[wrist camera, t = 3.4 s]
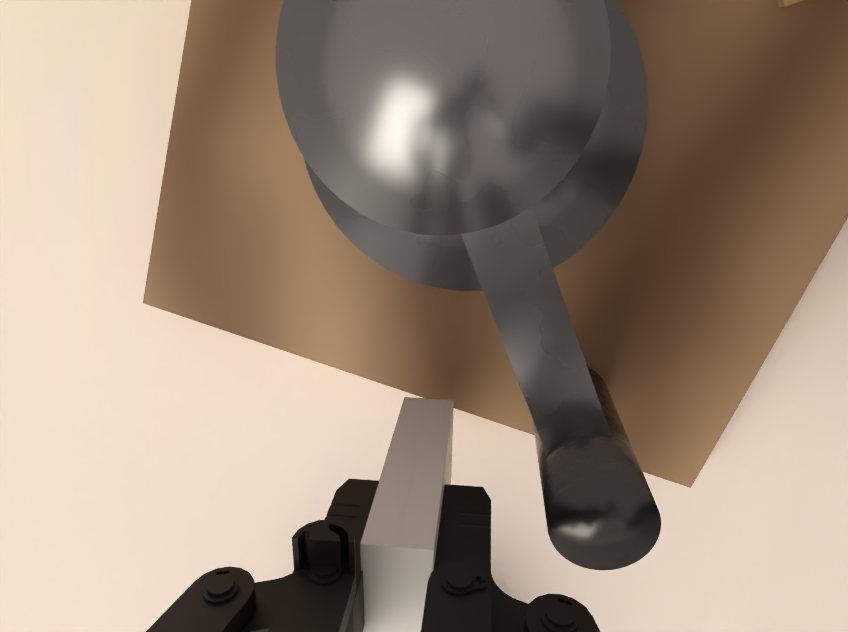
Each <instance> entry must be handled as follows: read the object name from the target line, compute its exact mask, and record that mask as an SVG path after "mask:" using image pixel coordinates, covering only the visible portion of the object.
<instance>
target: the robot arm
mask: <svg viewBox="0 0 848 632" xmlns="http://www.w3.org/2000/svg"><path fill="white" fill-rule="evenodd" d="M452 434H453V400H443V399H426V398H409V397H404V401H403V404H402V407H401V411H400V414H399V417H398V421H397V424H396V427H395V431H394V434H393V437H392V440H391V444H390V447H389V450H388V454H387V457H386V460H385V464H384V467H383V470H382V474H381V477H380V480H379V481H373V480H359V479H348V480H347V481H346V482H345V483H344V484H343V485H342V486H341V487H339V488H338V489H337V491H336V493H335V496H334V498H333V501H332V503H331V506H330V508H329V510H328V513H327V517H326V518H325V520H318V521H315V522H312V523H309V524H306V525H305V526H303V527H302V528H300V529H299V530H297V532H296V533H295V534H294V536H293V537H292V545H293V559H294V572H293V573H292V574H290V575H288V576H285V577H283V578H279V579H275V580H269V581H263V582H257V583H254V579H253V578H252V576H251V574H250V573H249V572H247V571H245V570H243V569H242V568H236V567H224V568H218V569H215V570H212V571H210V572H208V573H205V574H204V575H202V576H201V577H200V578H199V579H197V580H196V581H195V582H194V583H193V584H192V585H191V586H190V587H189V588H188V589H187V590H186V591H185V592H184V593H183V594H182V595H181V596H180V597H179V598H178V599H177V600H176V601H175V602H174V603H173V604H172V605H171V606H170V608H169V609H168V610H167V611H166V612H165V613H164V614H163V615H162V616H161V617H160V618H159V619H158V620H157V621H156V622H155V623H154V624H153V625H152V626H151V627H150V628H149V629H148V630H147V631H146V632H600V631H599V628H598V626H597V624H596V622H595V620H594V618H593V616H592V615H591V614H590V612H589V611H588V610H587V608H586V607H585V606H584V605H582V604H581V603H579V602H578V601H576V600H575V599H573V598H570V597H567V596H564V595H560V594H546V595H543V596H539V597H537V598H535V599H534V600H533V601H532V602H530V603H529V604H527V603H524V602H522V601H519V600H516V599H514V598H512V597H510V596H508V595H507V594H505V593H504V592H503V591H501V590H500V589H499V587H498V586H497V585H496V584H495V582H494V580H493V578H492V575H491V499H490V498H489V496H488V495H487V493H486V491H485V490H484V488H483V487H474V486H460V485H450V483H451V467H452Z"/></svg>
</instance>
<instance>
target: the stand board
mask: <svg viewBox="0 0 848 632" xmlns="http://www.w3.org/2000/svg"><path fill="white" fill-rule="evenodd" d="M618 1H619V3H620V4H621V6H622V8H623V10H624V12H625V13H626V15H627V17H628V19H629V21H630V23H631V25H632V27H633V30H634V32H635V35H636V38H637V41H638V44H639V47H640V49H641V53H642V58H643V62H644V67H645V72H646V78H647V92H648V113H647V127H646V133H645V138H644V143H643V149H642V152H641V156H640V159H639V162H638V165H637V168H636V171H635V174H634V176H633V178H632V180H631V183H630V185H629V187H628V189H627V191H626V193H625V195H624V197H623V199H622V200H621V202H620V203H619V205H618V207H617V208H616V210H615V211H614V213H613V215H612V216H611V217H610V218H609V220H608V221H607V222H606V223H605V225H604V226H603V227H602V228H601V230H600V231H599V232H598V233H597V234H596V235H595V236H594V237H593V238H592V239H591V240H590V241H589V242H588V243H587V244H586V245H585V246H584V247H583V248H582V249H580V250H579V251H578V252H576V253H575V254H574V255H572V256H571V257H570V258H568V259H567V260H566V261H564V262H563V263H561V264H559V265H558V266H556V267H554V268H553V270H554V273H555V276H556V279H557V282H558V285H559V288H560V290H561V293H562V296H563V299H564V302H565V305H566V308H567V310H568V313H569V316H570V319H571V322H572V325H573V328H574V330H575V333H576V336H577V339H578V342H579V345H580V348H581V350H582V353H583V356H584V359H585V362H586V365H587V367H589V368H591V369H593V370H594V371H595V372H597V373H598V374H599V375H600V376H601V377H602V379H603V380H604V382H605V383H606V386H607V388H608V390H609V393H610V395H611V398H612V400H613V402H614V405H615V407H616V410H617V412H618V414H619V417H620V419H621V422H622V424H623V426H624V429H625V431H626V434H627V436H628V438H629V441H630V443H631V446H632V448H633V450H634V453H635V455H636V458H637V460H638V462H639V465H640V467H641V470H642V471H643V472H646V473H649V474H652V475H655V476H657V477H660V478H663V479H666V480H669V481H672V482H675V483H678V484H681V485H684V486H687V487H690V488H691V486H692V484H693V483H694V481H695V479H696V478H697V476H698V474H699V472H700V471H701V469H702V467H703V466H704V464H705V462H706V460H707V459H708V457H709V455H710V453H711V452H712V450H713V448H714V447H715V445H716V443H717V441H718V440H719V438H720V436H721V435H722V433H723V431H724V429H725V428H726V426H727V424H728V422H729V421H730V419H731V417H732V416H733V414H734V412H735V410H736V409H737V407H738V405H739V404H740V402H741V400H742V398H743V397H744V395H745V393H746V391H747V390H748V388H749V386H750V385H751V383H752V381H753V379H754V378H755V376H756V374H757V373H758V371H759V369H760V367H761V366H762V364H763V362H764V360H765V359H766V357H767V355H768V354H769V352H770V350H771V348H772V347H773V345H774V343H775V342H776V340H777V338H778V336H779V335H780V333H781V331H782V329H783V328H784V326H785V324H786V323H787V321H788V319H789V317H790V316H791V314H792V312H793V311H794V309H795V307H796V305H797V304H798V302H799V300H800V298H801V297H802V295H803V293H804V292H805V290H806V288H807V286H808V285H809V283H810V281H811V280H812V278H813V276H814V274H815V273H816V271H817V269H818V267H819V266H820V264H821V262H822V261H823V259H824V257H825V255H826V254H827V252H828V250H829V249H830V247H831V245H832V243H833V242H834V240H835V238H836V236H837V235H838V233H839V231H840V230H841V228H842V226H843V224H844V223H845V221H846V219H847V218H848V0H618ZM282 4H283V0H191V6H190V13H189V19H188V25H187V31H186V38H185V44H184V50H183V56H182V62H181V69H180V75H179V81H178V87H177V94H176V100H175V106H174V112H173V119H172V125H171V131H170V137H169V144H168V150H167V156H166V162H165V169H164V175H163V181H162V187H161V194H160V200H159V206H158V212H157V219H156V225H155V231H154V237H153V243H152V250H151V256H150V262H149V268H148V275H147V281H146V287H145V293H144V300H143V303H145V304H148V305H150V306H153V307H156V308H159V309H162V310H165V311H168V312H171V313H174V314H177V315H180V316H183V317H186V318H189V319H192V320H195V321H198V322H201V323H204V324H207V325H210V326H213V327H216V328H219V329H222V330H225V331H228V332H231V333H233V334H236V335H239V336H242V337H245V338H248V339H251V340H254V341H257V342H260V343H263V344H266V345H269V346H272V347H275V348H278V349H281V350H284V351H287V352H290V353H293V354H296V355H299V356H302V357H305V358H308V359H311V360H314V361H317V362H319V363H322V364H325V365H328V366H331V367H334V368H337V369H340V370H343V371H346V372H349V373H352V374H355V375H358V376H361V377H364V378H367V379H370V380H373V381H376V382H379V383H382V384H385V385H388V386H391V387H394V388H397V389H400V390H402V391H405V392H408V393H411V394H414V395H417V396H420V397H423V398H426V399H443V400H453V408H456V409H459V410H462V411H465V412H468V413H471V414H474V415H477V416H480V417H483V418H486V419H488V420H491V421H494V422H497V423H500V424H503V425H506V426H509V427H512V428H515V429H518V430H521V431H524V432H527V433H530V434H533V435H535V433H534V426H533V418H532V415H531V413H530V410H529V408H528V405H527V403H526V400H525V397H524V395H523V392H522V390H521V387H520V385H519V382H518V379H517V377H516V374H515V372H514V369H513V367H512V364H511V361H510V359H509V356H508V354H507V351H506V349H505V346H504V343H503V341H502V338H501V336H500V333H499V331H498V328H497V325H496V323H495V320H494V318H493V315H492V312H491V310H490V307H489V305H488V302H487V300H486V297H485V294H484V292H483V290H477V291H459V290H449V289H441V288H436V287H432V286H427V285H423V284H420V283H417V282H414V281H412V280H409V279H406V278H403V277H401V276H399V275H397V274H395V273H393V272H391V271H390V270H388V269H386V268H384V267H382V266H381V265H379V264H378V263H376V262H375V261H374V260H372V259H371V258H369V257H368V256H366V255H365V254H364V253H363V252H362V251H361V250H360V249H358V248H357V247H356V246H355V245H354V244H353V243H352V242H351V241H350V240H349V239H348V238H347V237H346V236H345V235H344V234H343V232H342V231H341V230H340V229H339V228H338V227H337V226H336V224H335V223H334V221H333V220H332V218H331V217H330V215H329V214H328V213H327V211H326V210H325V208H324V206H323V204H322V203H321V201H320V199H319V197H318V195H317V193H316V191H315V189H314V187H313V184H312V181H311V179H310V176H309V174H308V171H307V168H306V164H305V160H304V157H303V155H302V154H301V152H300V150H299V148H298V146H297V144H296V142H295V140H294V138H293V136H292V134H291V131H290V129H289V126H288V123H287V121H286V118H285V116H284V112H283V108H282V104H281V100H280V96H279V91H278V83H277V76H276V38H277V29H278V22H279V17H280V13H281V9H282Z"/></svg>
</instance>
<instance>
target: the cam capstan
mask: <svg viewBox="0 0 848 632" xmlns="http://www.w3.org/2000/svg"><path fill="white" fill-rule="evenodd" d="M276 76H277V83H278V91H279V96H280V100H281V104H282V108H283V112H284V116H285V118H286V121H287V123H288V126H289V129H290V131H291V134H292V136H293V138H294V140H295V142H296V144H297V146H298V148H299V150H300V152H301V154H302V155H303V157H304V160H305V164H306V168H307V171H308V174H309V176H310V179H311V181H312V184H313V187H314V189H315V191H316V193H317V195H318V197H319V199H320V201H321V203H322V204H323V206H324V208H325V210H326V211H327V213H328V214H329V215H330V217H331V218H332V220H333V221H334V223H335V224H336V226H337V227H338V228H339V229H340V230H341V231H342V232H343V234H344V235H345V236H346V237H347V238H348V239H349V240H350V241H351V242H352V243H353V244H354V245H355V246H356V247H357V248H358V249H360V250H361V251H362V252H363V253H364V254H365V255H366V256H368V257H369V258H371V259H372V260H374V261H375V262H376V263H378V264H379V265H381V266H382V267H384V268H386V269H388V270H390V271H391V272H393V273H395V274H397V275H399V276H401V277H403V278H406V279H409V280H412V281H414V282H417V283H420V284H423V285H427V286H432V287H436V288H441V289H449V290H459V291H477V290H483V292H484V294H485V297H486V300H487V302H488V305H489V307H490V310H491V312H492V315H493V318H494V320H495V323H496V325H497V328H498V331H499V333H500V336H501V338H502V341H503V343H504V346H505V349H506V351H507V354H508V356H509V359H510V361H511V364H512V367H513V369H514V372H515V374H516V377H517V379H518V382H519V385H520V387H521V390H522V392H523V395H524V397H525V400H526V403H527V405H528V408H529V410H530V413H531V415H532V418H533V426H534V433H535V440H536V447H537V455H538V462H539V469H540V476H541V483H542V491H543V498H544V505H545V512H546V520H547V527H548V534H549V537H550V540H551V542H552V544H553V545H554V547H555V548H556V550H557V551H558V552H559V553H560V554H561V555H562V556H563V557H565V558H566V559H567V560H569V561H570V562H572V563H574V564H576V565H579V566H582V567H584V568H589V569H595V570H613V569H618V568H622V567H625V566H628V565H630V564H633V563H635V562H636V561H638V560H640V559H641V558H643V557H644V556H645V555H646V554H647V553H648V552H649V551H650V550H651V549H652V548H653V546H654V545H655V543H656V541H657V539H658V537H659V534H660V529H661V518H660V514H659V510H658V508H657V506H656V503H655V501H654V498H653V496H652V494H651V491H650V489H649V486H648V484H647V482H646V479H645V477H644V474H643V472H642V470H641V467H640V465H639V462H638V460H637V458H636V455H635V453H634V450H633V448H632V446H631V443H630V441H629V438H628V436H627V434H626V431H625V429H624V426H623V424H622V422H621V419H620V417H619V414H618V412H617V410H616V407H615V405H614V402H613V400H612V398H611V395H610V393H609V390H608V388H607V386H606V383H605V382H604V380H603V379H602V377H601V376H600V375H599V374H598V373H597V372H595V371H594V370H593V369H591V368H589V367H587V365H586V362H585V359H584V356H583V353H582V350H581V348H580V345H579V342H578V339H577V336H576V333H575V330H574V328H573V325H572V322H571V319H570V316H569V313H568V310H567V308H566V305H565V302H564V299H563V296H562V293H561V290H560V288H559V285H558V282H557V279H556V276H555V273H554V270H553V268H554V267H556V266H558V265H559V264H561V263H563V262H564V261H566V260H567V259H568V258H570V257H571V256H572V255H574V254H575V253H576V252H578V251H579V250H580V249H582V248H583V247H584V246H585V245H586V244H587V243H588V242H589V241H590V240H591V239H592V238H593V237H594V236H595V235H596V234H597V233H598V232H599V231H600V230H601V228H602V227H603V226H604V225H605V223H606V222H607V221H608V220H609V218H610V217H611V216H612V215H613V213H614V211H615V210H616V208H617V207H618V205H619V203H620V202H621V200H622V199H623V197H624V195H625V193H626V191H627V189H628V187H629V185H630V183H631V180H632V178H633V176H634V174H635V171H636V168H637V165H638V162H639V159H640V156H641V152H642V149H643V143H644V138H645V133H646V127H647V113H648V92H647V78H646V72H645V67H644V62H643V58H642V53H641V49H640V47H639V44H638V41H637V38H636V35H635V32H634V30H633V27H632V25H631V23H630V21H629V19H628V17H627V15H626V13H625V12H624V10H623V8H622V6H621V4H620V3H619V1H618V0H283V4H282V9H281V13H280V17H279V22H278V29H277V38H276Z"/></svg>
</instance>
